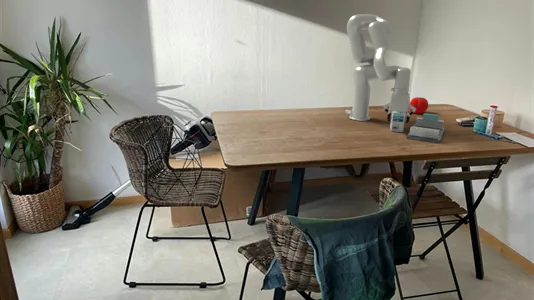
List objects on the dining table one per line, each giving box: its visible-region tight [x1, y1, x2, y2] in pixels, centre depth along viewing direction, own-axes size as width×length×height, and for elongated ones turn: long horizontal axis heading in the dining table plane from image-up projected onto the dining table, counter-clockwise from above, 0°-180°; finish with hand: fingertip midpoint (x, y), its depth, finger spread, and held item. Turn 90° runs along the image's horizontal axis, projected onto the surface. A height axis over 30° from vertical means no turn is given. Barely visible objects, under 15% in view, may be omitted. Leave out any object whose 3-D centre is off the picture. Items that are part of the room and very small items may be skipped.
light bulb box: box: [389, 111, 407, 133], centre depth 235 cm, size 11×7×11 cm, turn 168°
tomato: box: [409, 96, 429, 115], centre depth 270 cm, size 11×13×10 cm
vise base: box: [406, 123, 445, 144], centre depth 228 cm, size 16×25×6 cm, turn 153°
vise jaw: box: [415, 112, 445, 129], centre depth 237 cm, size 14×6×6 cm, turn 63°
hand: (397, 121), depth 235 cm, fingers open, 9 cm apart
